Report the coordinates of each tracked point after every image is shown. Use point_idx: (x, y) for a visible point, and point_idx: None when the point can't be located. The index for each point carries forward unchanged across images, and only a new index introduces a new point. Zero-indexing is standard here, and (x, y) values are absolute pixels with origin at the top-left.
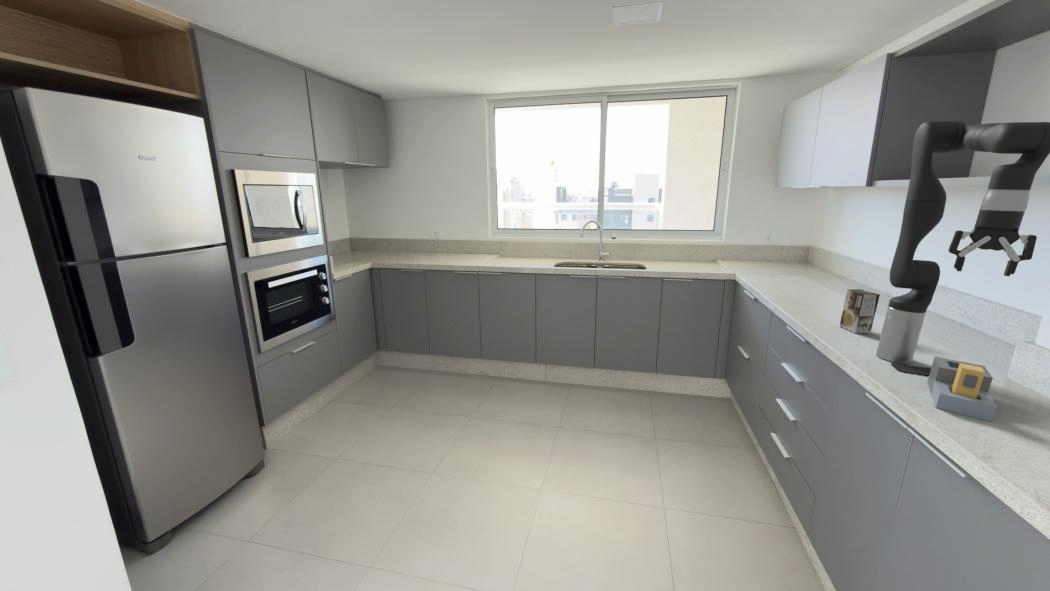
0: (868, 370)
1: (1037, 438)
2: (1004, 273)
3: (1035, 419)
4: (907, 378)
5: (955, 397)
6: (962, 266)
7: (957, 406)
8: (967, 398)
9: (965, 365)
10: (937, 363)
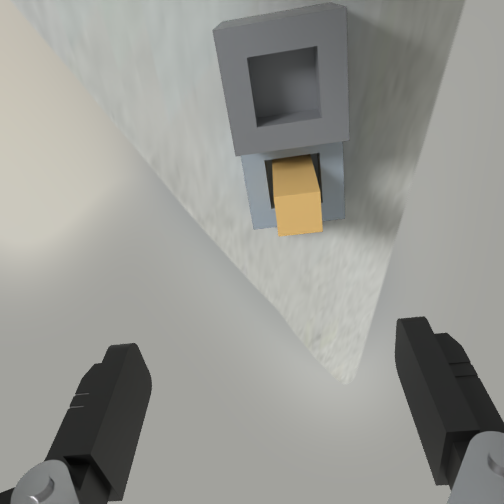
0: (89, 66)
1: (395, 221)
2: (400, 334)
3: (423, 110)
4: (178, 42)
5: None
6: (141, 419)
7: None
8: None
9: (285, 209)
10: (228, 115)
